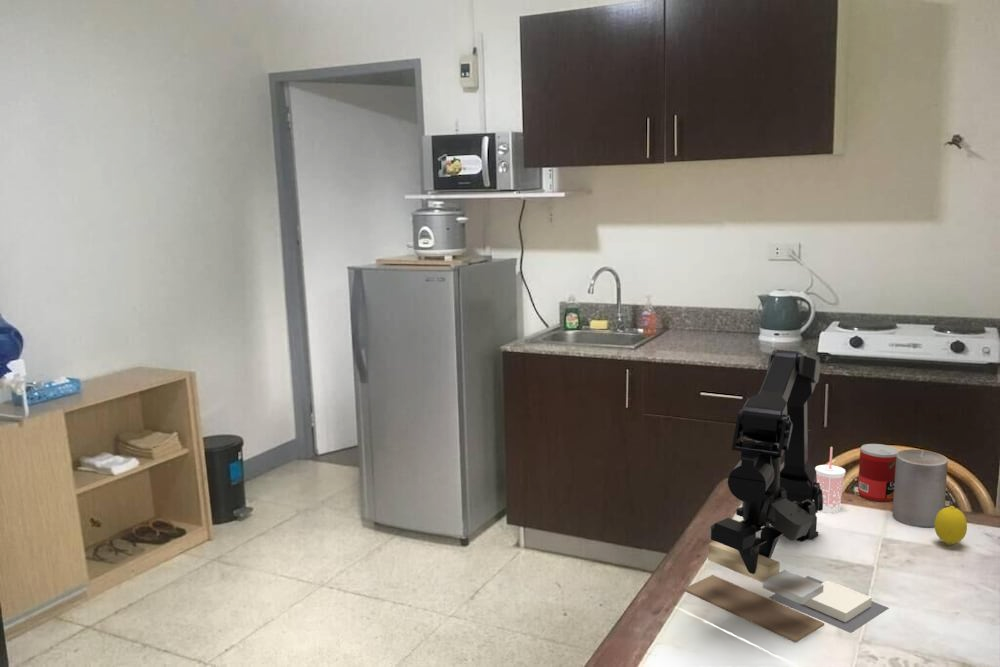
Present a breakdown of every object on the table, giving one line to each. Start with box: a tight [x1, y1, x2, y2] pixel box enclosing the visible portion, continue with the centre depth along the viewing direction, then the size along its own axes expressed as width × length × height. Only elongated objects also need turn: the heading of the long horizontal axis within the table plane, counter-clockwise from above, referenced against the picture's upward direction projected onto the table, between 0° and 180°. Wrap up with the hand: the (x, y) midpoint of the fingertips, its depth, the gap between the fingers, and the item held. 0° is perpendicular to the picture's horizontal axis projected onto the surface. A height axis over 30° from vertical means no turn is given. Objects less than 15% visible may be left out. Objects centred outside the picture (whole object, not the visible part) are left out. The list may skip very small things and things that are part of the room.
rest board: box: [683, 574, 825, 643], centre depth 142 cm, size 22×8×1 cm, turn 38°
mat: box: [768, 575, 890, 634], centre depth 143 cm, size 15×12×1 cm
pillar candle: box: [892, 449, 949, 528], centre depth 176 cm, size 10×10×15 cm
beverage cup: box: [814, 446, 846, 514], centre depth 182 cm, size 6×6×14 cm
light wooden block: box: [707, 540, 824, 604], centre depth 139 cm, size 19×6×3 cm, turn 38°
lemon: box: [934, 505, 968, 546], centre depth 164 cm, size 6×6×8 cm
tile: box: [803, 580, 873, 622], centre depth 141 cm, size 2×8×8 cm
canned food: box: [857, 443, 899, 503], centre depth 189 cm, size 8×8×11 cm
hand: (757, 570), depth 140 cm, fingers closed on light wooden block, 3 cm apart
